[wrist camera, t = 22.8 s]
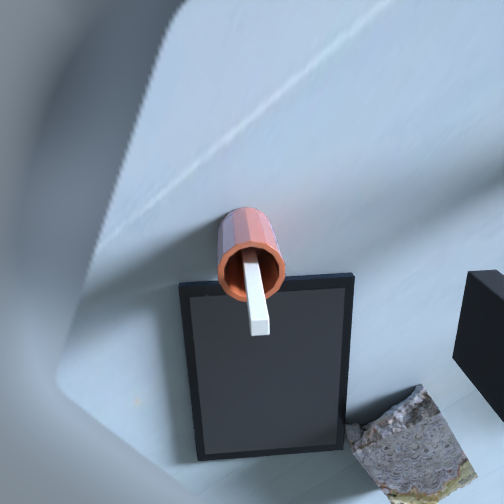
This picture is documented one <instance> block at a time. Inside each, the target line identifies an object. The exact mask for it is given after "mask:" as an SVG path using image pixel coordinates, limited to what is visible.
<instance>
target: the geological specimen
mask: <svg viewBox="0 0 504 504" xmlns="http://www.w3.org/2000/svg"><path fill="white" fill-rule="evenodd" d="M345 430H346V434H347V438H348V441H349V444H350V446H351V450H352V453H353V454H354V456H355V457H356V458H357V460H358V461H359V462H360V463H361V465H362V466H363V467H364V469H365V470H366V471H367V472H368V474H369V475H370V476H371V477H372V479H373V480H374V481H375V483H376V484H377V485H378V487H380V488H381V490H382V491H383V493H384V494H385V495H386V496H387V497H388V499H389V501H390V502H391V504H437V503H438V502H439V501H440V500H442V499H444V498H445V497H447V496H448V495H450V494H451V493H452V492H454V491H456V490H457V489H458V488H463V487H464V486H465V485H468V484H470V483H471V482H472V481H473V480H474V479H476V478H477V477H478V476H477V474H476V472H475V471H474V469H473V467H472V465H471V464H470V462H469V460H468V458H467V457H466V455H465V453H464V452H463V450H462V448H461V446H460V445H459V443H458V441H457V440H456V438H455V436H454V434H453V433H452V431H451V429H450V427H449V426H448V424H447V422H446V420H445V418H444V417H443V415H442V413H441V412H440V410H439V409H438V407H437V406H436V404H435V402H434V401H433V400H432V398H431V397H430V395H429V394H428V392H427V391H426V390H425V388H424V387H423V386H422V384H419V385H417V386H416V388H415V390H414V392H413V393H412V394H411V395H410V396H409V397H408V398H407V399H406V400H403V401H401V402H400V403H398V404H397V405H394V406H392V407H391V408H390V409H389V410H388V411H386V412H385V413H384V414H383V415H382V416H381V417H380V418H379V419H377V420H375V421H373V422H369V423H368V424H367V425H365V426H360V425H359V424H358V423H354V424H345Z"/></svg>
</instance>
